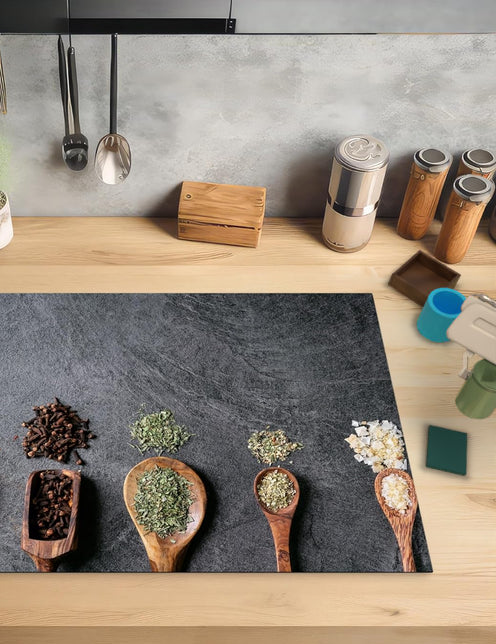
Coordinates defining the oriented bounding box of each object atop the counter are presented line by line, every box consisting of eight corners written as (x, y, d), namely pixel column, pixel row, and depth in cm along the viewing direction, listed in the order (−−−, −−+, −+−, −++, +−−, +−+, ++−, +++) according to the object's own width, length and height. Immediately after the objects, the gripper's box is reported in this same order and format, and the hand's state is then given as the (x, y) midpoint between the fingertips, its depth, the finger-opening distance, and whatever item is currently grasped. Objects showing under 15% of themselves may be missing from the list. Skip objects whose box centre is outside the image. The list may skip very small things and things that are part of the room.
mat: (428, 427, 143) (429, 424, 142) (465, 435, 141) (467, 433, 141) (425, 467, 137) (427, 464, 137) (464, 476, 136) (466, 473, 135)
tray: (455, 285, 164) (461, 274, 161) (428, 311, 160) (433, 300, 157) (415, 260, 169) (419, 249, 166) (387, 284, 164) (391, 274, 162)
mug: (417, 339, 155) (429, 315, 149) (415, 310, 160) (426, 285, 153) (476, 347, 154) (490, 322, 147) (472, 317, 159) (486, 292, 152)
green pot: (500, 404, 127) (522, 374, 120) (480, 426, 125) (501, 397, 117) (467, 382, 130) (486, 351, 123) (447, 403, 127) (465, 373, 120)
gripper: (471, 286, 121) (424, 358, 124) (596, 351, 113) (541, 425, 116) (474, 289, 126) (429, 357, 130) (592, 351, 118) (541, 422, 122)
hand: (483, 390), depth 123 cm, fingers closed on green pot, 6 cm apart
